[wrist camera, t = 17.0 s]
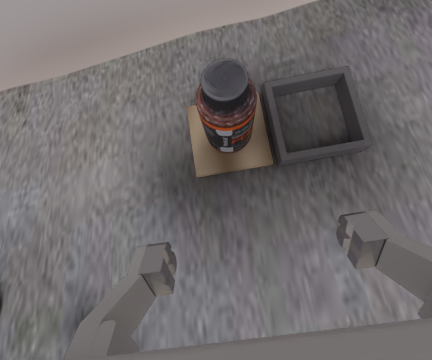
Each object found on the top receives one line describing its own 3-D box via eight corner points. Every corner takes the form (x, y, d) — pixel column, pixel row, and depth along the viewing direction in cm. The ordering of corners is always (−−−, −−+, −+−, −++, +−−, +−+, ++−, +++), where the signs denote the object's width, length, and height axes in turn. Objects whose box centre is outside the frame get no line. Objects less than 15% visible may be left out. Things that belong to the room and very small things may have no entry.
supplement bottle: (237, 162, 28) (237, 125, 17) (198, 142, 29) (174, 93, 18) (260, 124, 29) (273, 63, 18) (221, 105, 30) (210, 37, 19)
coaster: (257, 96, 30) (258, 92, 30) (272, 164, 29) (273, 162, 28) (188, 110, 31) (186, 106, 30) (197, 177, 29) (196, 176, 28)
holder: (339, 78, 30) (348, 65, 27) (361, 151, 28) (373, 144, 25) (262, 93, 30) (264, 82, 28) (277, 166, 28) (281, 160, 26)
